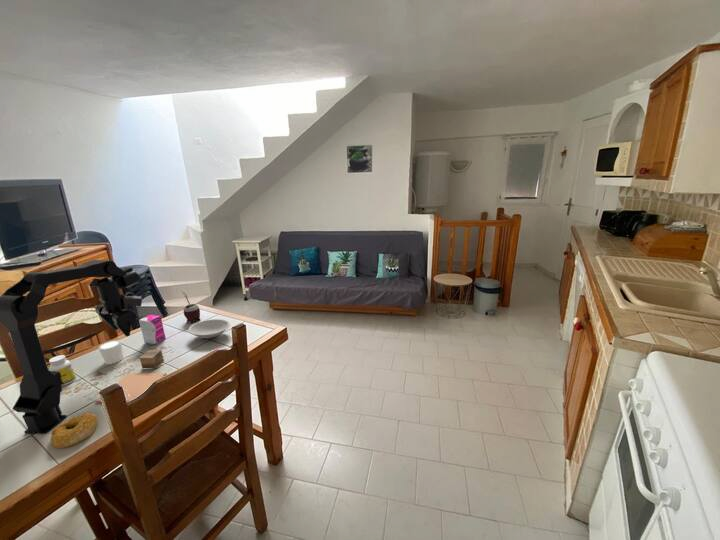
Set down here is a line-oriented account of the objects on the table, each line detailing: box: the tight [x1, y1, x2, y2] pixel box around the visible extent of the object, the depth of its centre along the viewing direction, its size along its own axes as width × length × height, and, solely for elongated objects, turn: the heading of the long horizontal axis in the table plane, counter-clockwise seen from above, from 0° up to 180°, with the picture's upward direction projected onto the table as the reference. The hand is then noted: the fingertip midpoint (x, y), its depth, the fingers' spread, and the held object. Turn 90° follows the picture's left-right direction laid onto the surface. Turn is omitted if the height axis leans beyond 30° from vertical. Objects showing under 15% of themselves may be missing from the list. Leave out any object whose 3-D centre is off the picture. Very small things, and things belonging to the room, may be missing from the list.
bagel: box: [50, 412, 99, 449], centre depth 84 cm, size 10×11×5 cm
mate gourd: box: [181, 290, 201, 325], centre depth 147 cm, size 8×8×15 cm
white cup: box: [98, 339, 124, 365], centre depth 118 cm, size 7×7×7 cm
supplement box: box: [138, 314, 166, 346], centre depth 130 cm, size 6×6×12 cm
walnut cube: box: [139, 349, 165, 369], centre depth 114 cm, size 5×5×5 cm
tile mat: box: [95, 372, 167, 404], centre depth 103 cm, size 14×14×1 cm
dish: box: [187, 318, 231, 339], centre depth 134 cm, size 18×14×5 cm
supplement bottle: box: [48, 354, 76, 387], centre depth 105 cm, size 5×5×10 cm
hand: (122, 332), depth 111 cm, fingers open, 9 cm apart
